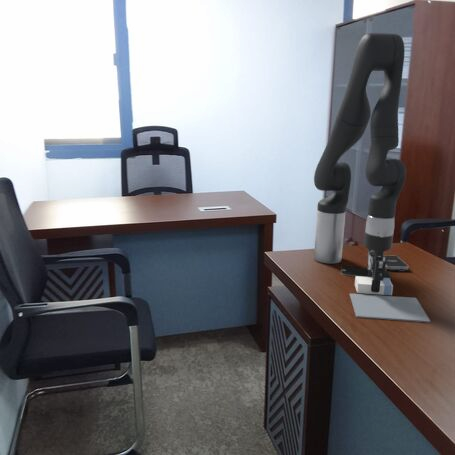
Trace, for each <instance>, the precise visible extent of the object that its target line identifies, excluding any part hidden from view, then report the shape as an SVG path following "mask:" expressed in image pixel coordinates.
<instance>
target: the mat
mask: <svg viewBox="0 0 455 455" xmlns="http://www.w3.org/2000/svg"><path fill="white" fill-rule="evenodd" d="M349 297H350V301H351V304H352V308H353V311H354V314H355V318H363V319H375V320H391V321H403V322H419V323H431V320H430V318H429V317H428V315H427V313H426V311H425V310H424V308H423V307H422V305H421V303H420V301H419V300H418V299H417V297H408V296H397V295H396V296H395V295H394V296H393V295H380V294H365V293H349Z"/></svg>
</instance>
